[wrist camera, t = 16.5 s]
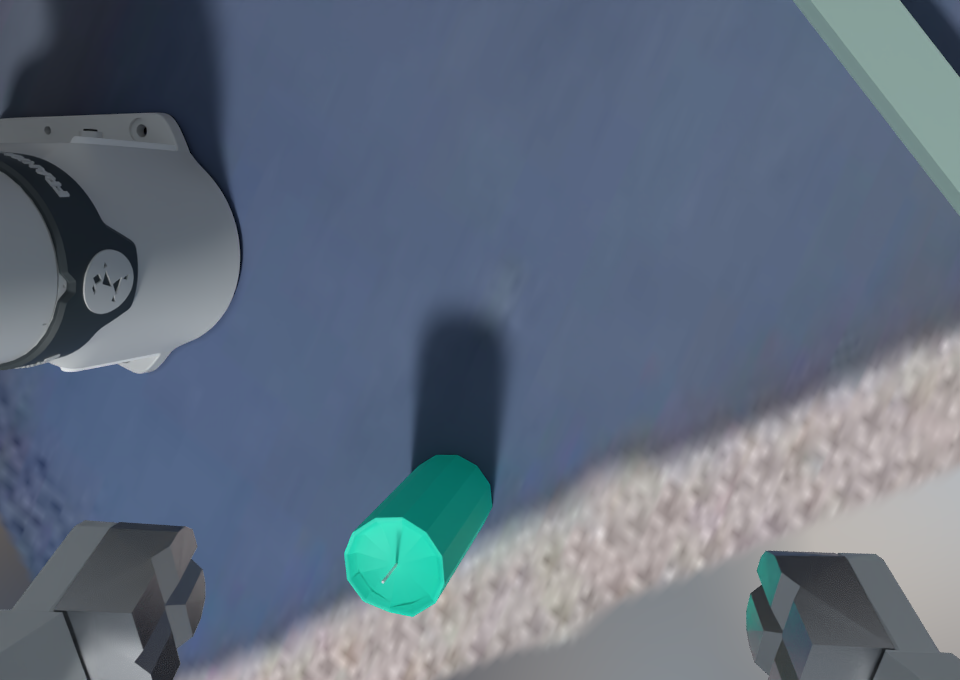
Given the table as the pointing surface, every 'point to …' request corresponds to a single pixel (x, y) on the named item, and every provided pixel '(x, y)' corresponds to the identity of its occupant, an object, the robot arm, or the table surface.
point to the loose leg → (898, 79)
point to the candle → (418, 535)
